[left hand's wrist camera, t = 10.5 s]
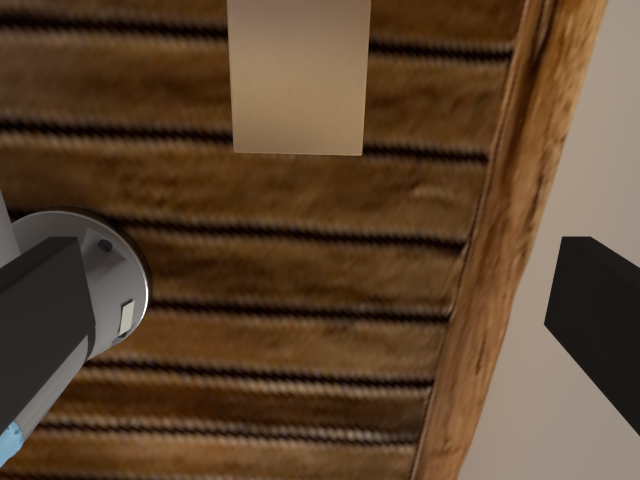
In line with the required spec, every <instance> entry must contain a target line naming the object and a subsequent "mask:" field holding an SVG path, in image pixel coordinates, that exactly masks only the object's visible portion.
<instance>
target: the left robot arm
mask: <svg viewBox="0 0 640 480" xmlns="http://www.w3.org/2000/svg"><path fill="white" fill-rule="evenodd" d="M152 289H153V286H152V277H151V272H150V269H149V266H148V263H147V261H146V259H145V257H144V255H143V253H142V252H141V250H140V249H139V247H138V246H137V244H136V243H135V242H134V241H133V240H132V239H131V237H130V236H129V235H128V234H127V233H125V232H124V231H123V230H122V229H121V228H119V227H118V226H117V225H116V224H114V223H112V222H111V221H109V220H107V219H106V218H104V217H102V216H100V215H97V214H95V213H92V212H89V211H86V210H82V209H78V208H71V207H53V208H46V209H42V210H39V211H36V212H33V213H31V214H29V215H27V216H25V217H23V218H21V219H19V220H17V221H16V222H14V223H13V224H11V221H10V218H9V215H8V212H7V209H6V206H5V203H4V199H3V196H2V193H1V189H0V467H1V466H2V465H3V464H4V463H5V462H6V461H7V460H8V458H10V457H12V456H13V455H14V454H16V452H18V451H19V450H20V448H21V446H22V445H23V443H24V441H25V440H26V439H27V438H28V436H29V435H30V434H31V432H32V431H33V430H34V428H35V427H36V426H37V424H38V423H39V422H40V421H41V419H42V418H43V417H44V415H45V414H46V413H47V411H48V410H49V409H50V408H51V406H52V405H53V404H54V402H55V401H56V400H57V398H58V397H59V396H60V394H61V393H62V392H63V391H64V389H65V388H66V387H67V385H68V384H69V383H70V381H71V380H72V379H73V377H74V376H75V375H76V374H77V372H78V371H79V370H80V368H81V367H82V366H83V364H84V363H85V362H86V361H87V360H89V359H91V358H92V357H94V356H96V355H98V354H100V353H101V352H103V351H105V350H107V349H108V348H110V347H112V346H114V345H116V344H118V343H119V342H121V341H122V340H124V339H125V338H126V337H128V336H129V335H130V334H131V333H132V332H133V331H134V330H135V329H136V327H137V326H138V325H139V323H140V322H141V320H142V319H143V318H144V316H145V314H146V313H147V311H148V308H149V306H150V303H151V299H152ZM544 325H545V326H546V327H547V329H548V330H549V331H550V332H551V333H552V334H553V336H554V337H555V338H556V339H557V340H558V341H559V343H560V344H561V345H562V346H563V347H564V348H565V350H566V351H567V352H568V353H569V354H570V355H571V357H572V358H573V359H574V360H575V361H576V362H577V364H578V365H579V366H580V367H581V368H582V369H583V371H584V372H585V373H586V374H587V375H588V376H589V378H590V379H591V380H592V381H593V382H594V383H595V385H596V386H597V387H598V388H599V389H600V390H601V391H602V393H603V394H604V395H605V396H606V397H607V398H608V400H609V401H610V402H611V403H612V404H613V405H614V407H615V408H616V409H617V410H618V411H619V412H620V414H621V415H622V416H623V417H624V418H625V419H626V421H627V422H628V423H629V424H630V425H631V426H632V428H633V429H634V430H635V431H636V432H637V433H638V435H639V436H640V268H639V267H637V266H636V265H634V264H633V263H631V262H630V261H628V260H626V259H625V258H623V257H622V256H620V255H619V254H617V253H615V252H614V251H612V250H611V249H609V248H608V247H606V246H605V245H603V244H601V243H600V242H598V241H597V240H595V239H594V238H592V237H562V240H561V245H560V250H559V254H558V259H557V264H556V269H555V274H554V278H553V283H552V288H551V293H550V297H549V302H548V307H547V312H546V317H545V322H544Z"/></svg>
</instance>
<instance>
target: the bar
mask: <svg viewBox="0 0 640 480" xmlns="http://www.w3.org/2000/svg"><path fill="white" fill-rule="evenodd" d="M370 10H371V0H227V18H228V40H229V62H230V84H231V106H232V127H233V149H234V152H238V153H278V154H318V155H358V156H360V155H362V145H363V128H364V111H365V94H366V77H367V60H368V43H369V27H370Z"/></svg>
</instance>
